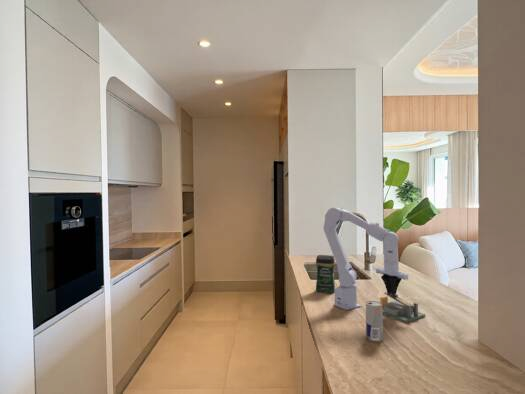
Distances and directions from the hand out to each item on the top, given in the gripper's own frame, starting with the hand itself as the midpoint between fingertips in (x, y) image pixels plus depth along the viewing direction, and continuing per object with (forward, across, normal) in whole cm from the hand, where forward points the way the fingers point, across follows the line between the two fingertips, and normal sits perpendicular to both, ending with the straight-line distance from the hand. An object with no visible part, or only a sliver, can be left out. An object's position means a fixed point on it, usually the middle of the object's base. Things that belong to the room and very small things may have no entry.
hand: (391, 293), depth 133 cm
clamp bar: (+2, -4, 0) cm, 4 cm away
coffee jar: (+8, +37, +4) cm, 38 cm away
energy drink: (+8, -14, +27) cm, 31 cm away
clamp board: (+8, -3, 0) cm, 8 cm away
